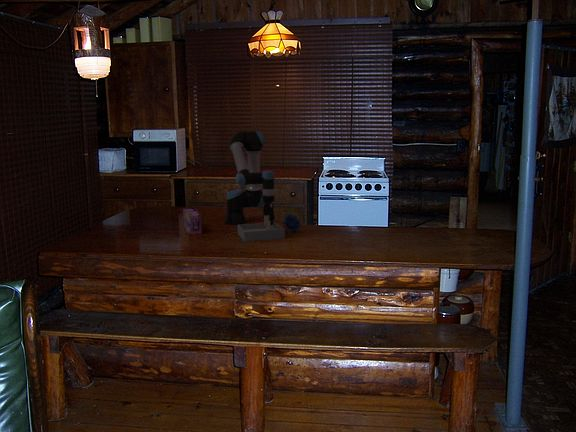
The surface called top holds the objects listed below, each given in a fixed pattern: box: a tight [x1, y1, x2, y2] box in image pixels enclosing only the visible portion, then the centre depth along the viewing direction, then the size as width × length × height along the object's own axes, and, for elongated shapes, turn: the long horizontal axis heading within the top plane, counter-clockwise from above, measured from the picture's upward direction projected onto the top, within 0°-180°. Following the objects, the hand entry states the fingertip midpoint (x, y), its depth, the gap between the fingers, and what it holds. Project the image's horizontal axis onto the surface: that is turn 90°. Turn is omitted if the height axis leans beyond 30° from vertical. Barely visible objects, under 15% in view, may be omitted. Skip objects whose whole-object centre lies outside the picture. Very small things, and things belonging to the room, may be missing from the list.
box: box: [237, 221, 286, 242], centre depth 370 cm, size 22×26×6 cm
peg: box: [266, 216, 270, 230], centre depth 370 cm, size 4×4×12 cm
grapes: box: [283, 213, 302, 233], centre depth 379 cm, size 12×7×12 cm, turn 82°
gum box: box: [182, 207, 203, 235], centre depth 385 cm, size 24×8×14 cm, turn 21°
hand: (269, 227), depth 371 cm, fingers open, 13 cm apart
